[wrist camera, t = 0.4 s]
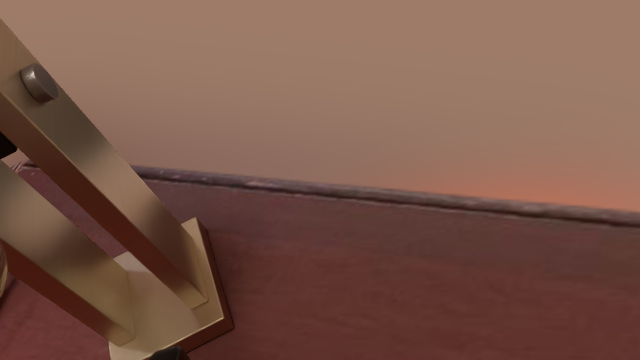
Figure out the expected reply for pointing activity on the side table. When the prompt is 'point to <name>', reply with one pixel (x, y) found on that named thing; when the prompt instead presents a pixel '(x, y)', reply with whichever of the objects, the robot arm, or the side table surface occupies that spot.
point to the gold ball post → (111, 213)
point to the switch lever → (3, 148)
